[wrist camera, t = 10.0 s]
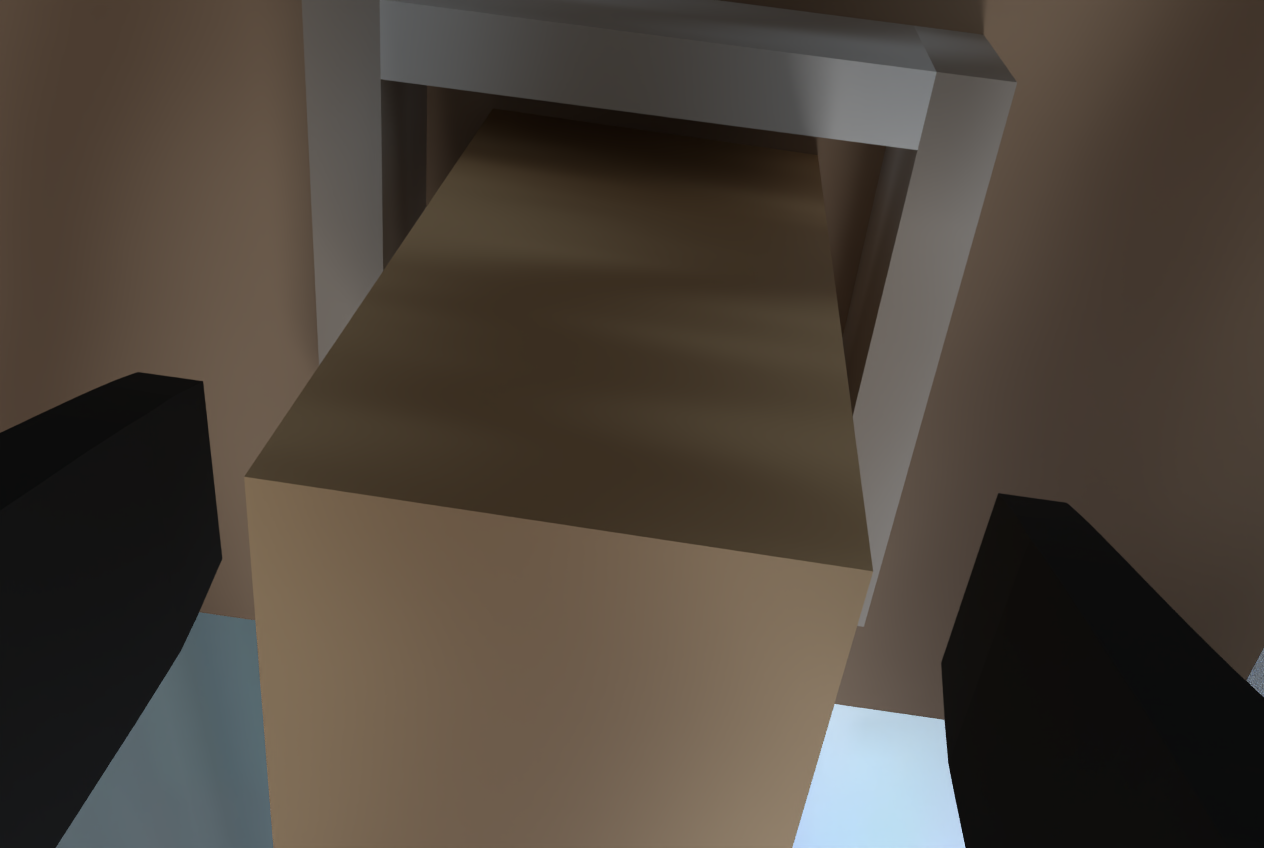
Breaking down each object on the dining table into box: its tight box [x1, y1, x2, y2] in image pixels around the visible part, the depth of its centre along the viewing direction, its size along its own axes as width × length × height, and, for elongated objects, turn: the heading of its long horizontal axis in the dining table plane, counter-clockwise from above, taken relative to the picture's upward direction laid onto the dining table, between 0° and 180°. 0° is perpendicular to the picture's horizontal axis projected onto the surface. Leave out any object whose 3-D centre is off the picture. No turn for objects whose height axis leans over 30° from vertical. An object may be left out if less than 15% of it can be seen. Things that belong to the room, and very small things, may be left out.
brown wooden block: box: [244, 109, 873, 848], centre depth 12 cm, size 4×4×8 cm
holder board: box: [0, 0, 1264, 720], centre depth 15 cm, size 20×14×3 cm
